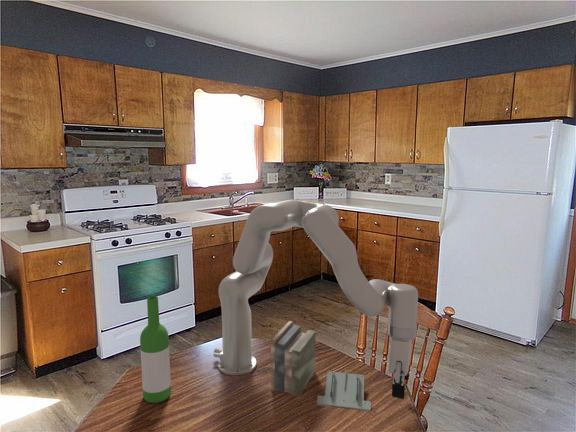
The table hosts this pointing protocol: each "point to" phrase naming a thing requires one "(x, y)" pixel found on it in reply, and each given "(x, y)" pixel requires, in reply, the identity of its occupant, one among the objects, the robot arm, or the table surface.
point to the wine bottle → (155, 356)
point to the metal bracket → (344, 391)
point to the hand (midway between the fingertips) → (400, 387)
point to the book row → (292, 359)
